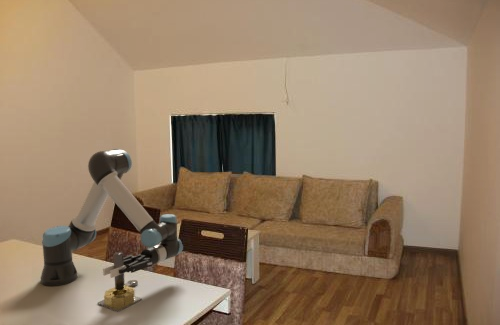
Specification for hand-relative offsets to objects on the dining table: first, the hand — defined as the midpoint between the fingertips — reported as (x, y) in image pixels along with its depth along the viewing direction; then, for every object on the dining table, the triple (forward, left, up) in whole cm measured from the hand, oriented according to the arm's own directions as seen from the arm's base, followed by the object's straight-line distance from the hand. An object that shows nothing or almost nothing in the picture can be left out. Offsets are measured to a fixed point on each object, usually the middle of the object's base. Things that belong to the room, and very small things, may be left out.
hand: (107, 273), depth 154 cm
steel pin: (0, +5, -8) cm, 10 cm away
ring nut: (0, +5, -14) cm, 15 cm away
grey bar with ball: (-9, +14, -14) cm, 22 cm away
